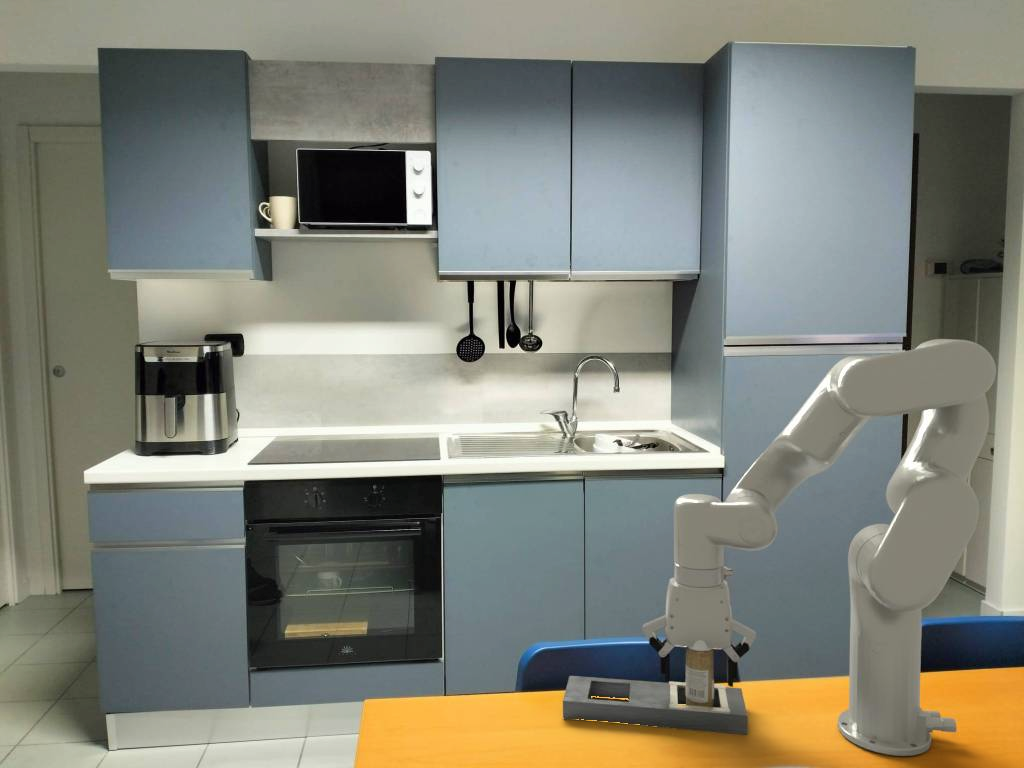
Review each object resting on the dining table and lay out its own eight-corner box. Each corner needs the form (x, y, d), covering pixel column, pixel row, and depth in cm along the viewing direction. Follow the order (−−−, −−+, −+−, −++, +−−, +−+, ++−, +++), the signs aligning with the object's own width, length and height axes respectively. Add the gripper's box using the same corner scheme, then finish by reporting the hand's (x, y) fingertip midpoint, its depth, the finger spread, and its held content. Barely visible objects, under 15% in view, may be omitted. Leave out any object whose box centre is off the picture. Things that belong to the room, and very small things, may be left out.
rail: (741, 706, 124) (741, 686, 123) (747, 734, 115) (747, 713, 114) (569, 692, 129) (569, 673, 129) (563, 719, 120) (562, 698, 120)
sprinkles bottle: (719, 716, 120) (720, 633, 120) (704, 727, 117) (704, 641, 116) (695, 706, 124) (695, 625, 123) (678, 716, 120) (678, 633, 120)
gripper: (753, 569, 121) (752, 674, 122) (643, 564, 124) (643, 666, 125) (759, 584, 114) (758, 696, 115) (641, 579, 117) (642, 687, 118)
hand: (698, 680), depth 120 cm, fingers open, 9 cm apart
